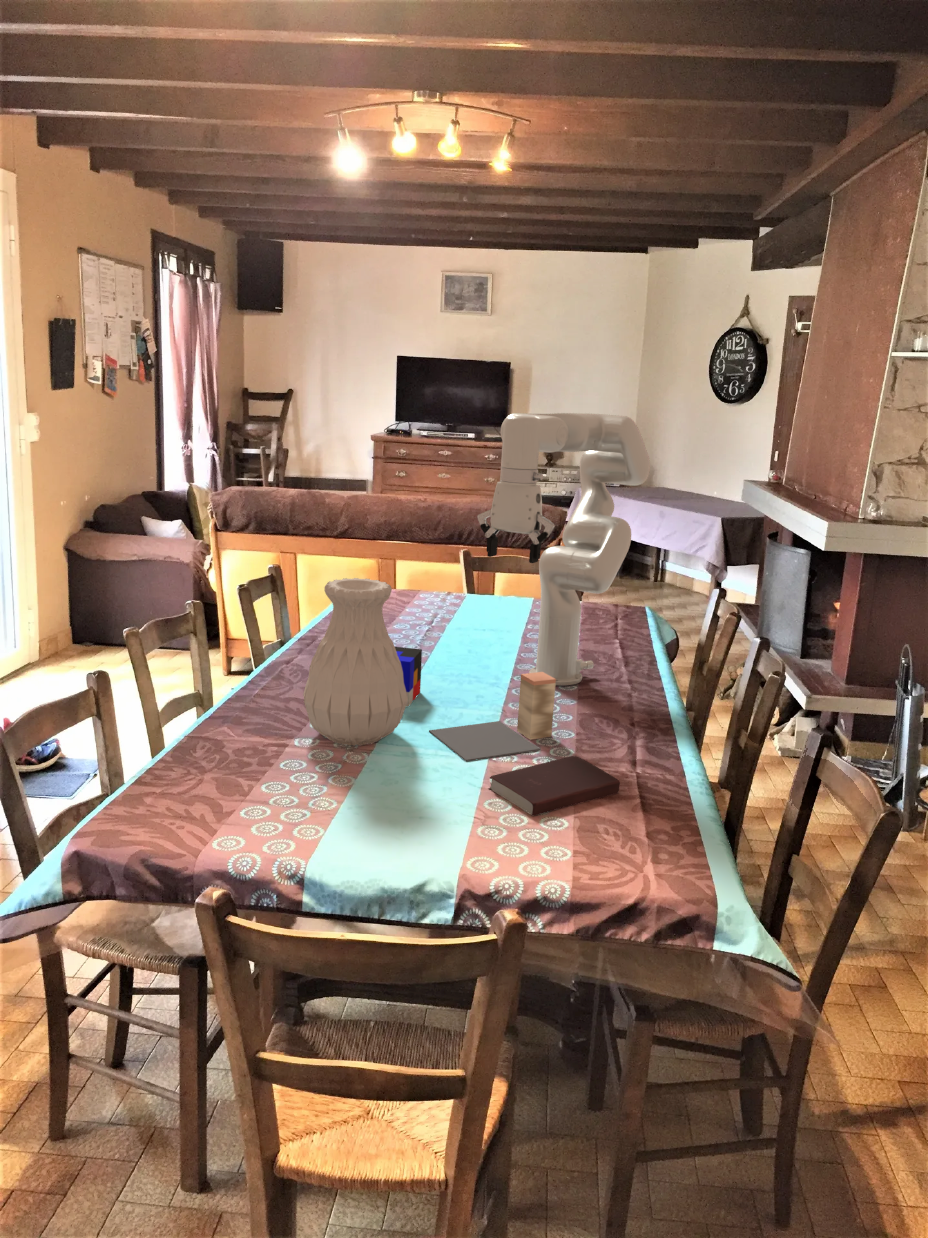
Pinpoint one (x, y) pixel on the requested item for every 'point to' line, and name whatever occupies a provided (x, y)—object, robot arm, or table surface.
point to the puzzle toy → (411, 670)
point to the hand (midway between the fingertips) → (512, 559)
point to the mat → (483, 740)
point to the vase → (356, 668)
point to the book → (554, 785)
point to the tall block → (536, 705)
